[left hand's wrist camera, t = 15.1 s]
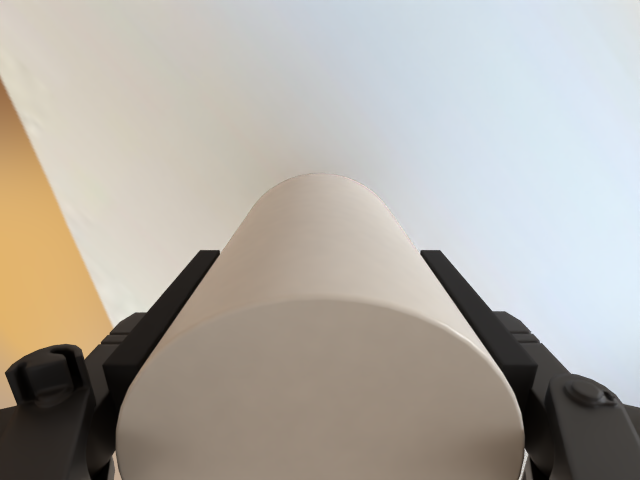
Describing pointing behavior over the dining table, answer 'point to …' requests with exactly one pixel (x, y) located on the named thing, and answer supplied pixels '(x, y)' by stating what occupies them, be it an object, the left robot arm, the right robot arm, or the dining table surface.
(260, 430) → the canister
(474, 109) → the dining table surface
